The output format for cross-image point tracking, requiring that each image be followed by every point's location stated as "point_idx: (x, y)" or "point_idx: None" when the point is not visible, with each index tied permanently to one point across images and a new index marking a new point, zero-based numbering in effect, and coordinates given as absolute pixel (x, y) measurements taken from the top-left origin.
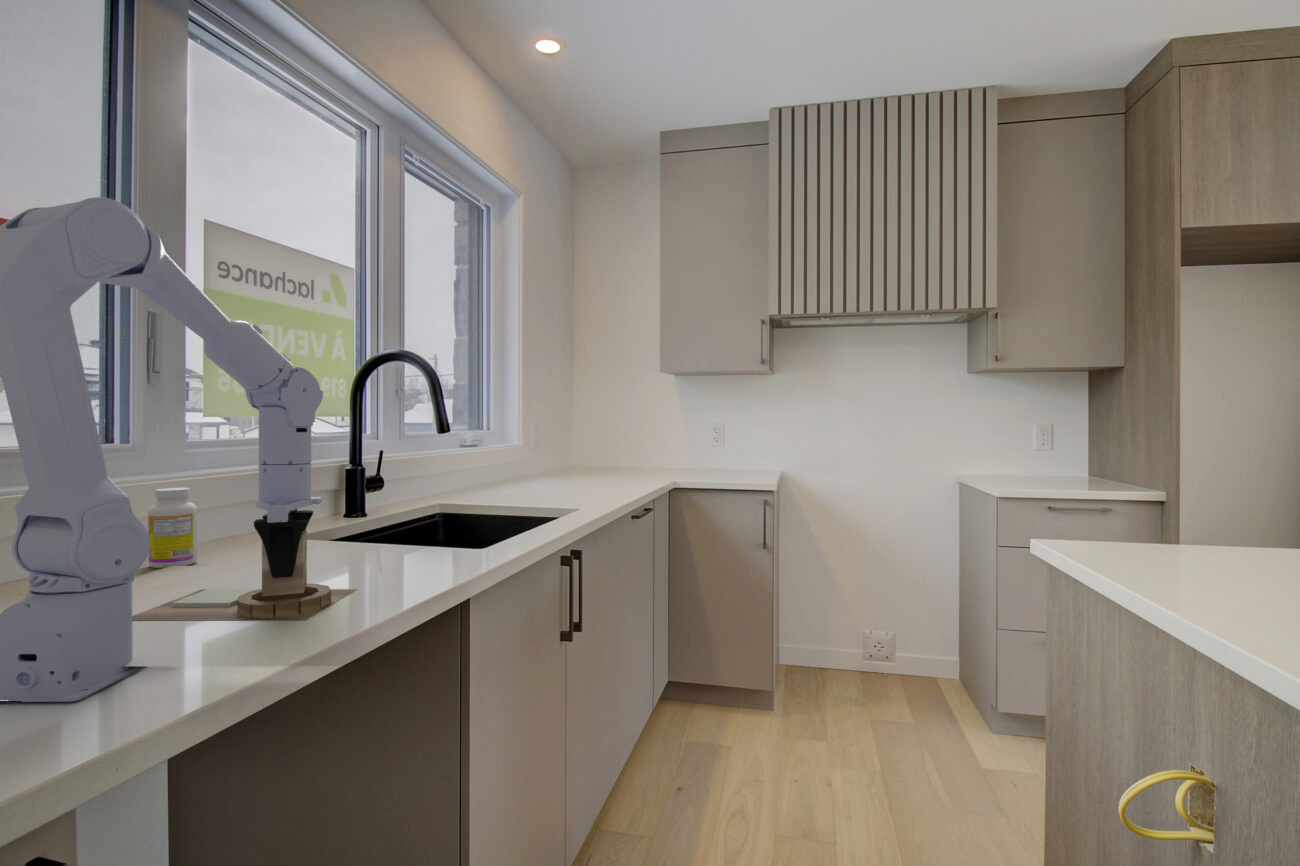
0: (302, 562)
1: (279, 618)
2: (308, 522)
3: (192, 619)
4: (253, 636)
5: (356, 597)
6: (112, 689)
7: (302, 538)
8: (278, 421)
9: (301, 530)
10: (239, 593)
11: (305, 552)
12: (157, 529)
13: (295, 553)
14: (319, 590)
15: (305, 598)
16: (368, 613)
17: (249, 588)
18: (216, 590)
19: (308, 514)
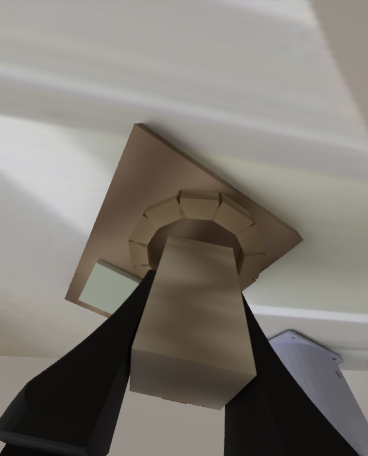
0: (241, 296)
1: (263, 262)
2: (72, 366)
3: None
4: (268, 275)
5: (134, 123)
6: (329, 345)
7: (253, 366)
8: None
9: (337, 432)
10: (116, 283)
11: (188, 296)
12: None
13: (265, 336)
14: (204, 217)
15: (251, 244)
16: (277, 125)
17: (91, 273)
18: (91, 296)
19: (93, 436)
